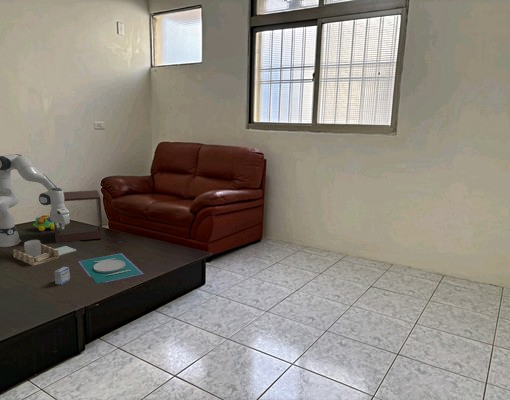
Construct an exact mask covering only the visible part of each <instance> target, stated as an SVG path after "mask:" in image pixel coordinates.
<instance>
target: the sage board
mask: <svg viewBox="0 0 510 400" xmlns="http://www.w3.org/2000/svg"><path fill="white" fill-rule="evenodd" d="M55 249H56V250H58V252H59V257H60V256H63V255H67V254H70V253H73V252H76V251H77V249H76V248H72V247H70V246H67V245H63V246H59V247H56V248H55Z"/></svg>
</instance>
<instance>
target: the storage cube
mask: <svg viewBox="0 0 510 400" xmlns="http://www.w3.org/2000/svg"><path fill="white" fill-rule="evenodd" d="M63 193H64V202H73V201H74V202H75V201H90V200H96V216H97V217H96V218H97V226H94V227H93V226H91V227H82V228H71V229H69V228H68V229H61V230H60V227H59V228H57V227H56V224H55V222H54V228H55V229H54V235H55V243H59V244H60V243H67V242H68V243H69V242H76V241H77V242H78V241H85V240H87V241H88V240H96V239H103V237H104V235H103V233H104V232H103V219H102V218H103V217H102V216H103V215H102V203H101V199H102V198H101V196H100V193H99V191H98V190H97V189H95V190H94V189H93V190H83V191H82V190H80V191H63Z"/></svg>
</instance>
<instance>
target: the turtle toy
mask: <svg viewBox="0 0 510 400" xmlns="http://www.w3.org/2000/svg"><path fill="white" fill-rule="evenodd" d="M32 225H33V226H34V228H36V229H38V231H40V232H44V231H45V229H50V230H55V228H54V221H51V220H50V215H44V214H43V215H41V216H37V217H36V218H35V222H34V223H33V224H32Z"/></svg>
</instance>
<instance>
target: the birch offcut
mask: <svg viewBox="0 0 510 400" xmlns="http://www.w3.org/2000/svg"><path fill="white" fill-rule="evenodd" d="M47 257H50V254H48V253H41V255H39V256H37V257H34V261H40V260H43V259H45V258H47Z"/></svg>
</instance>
